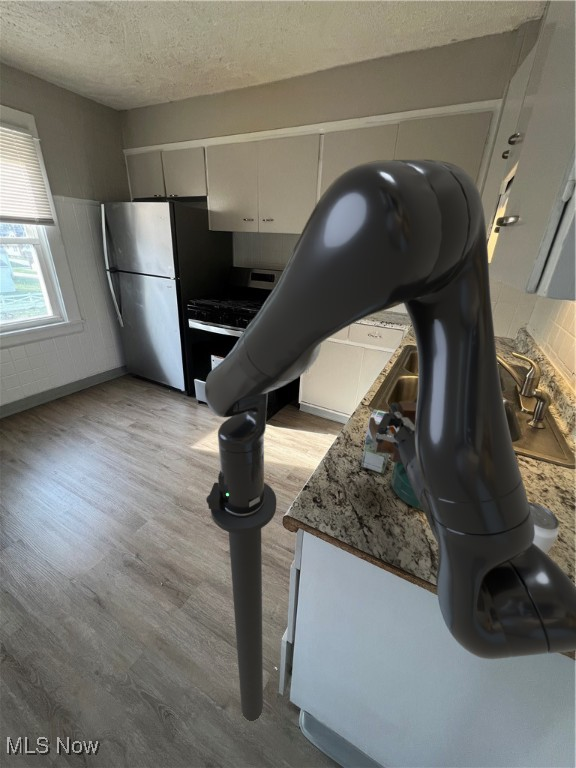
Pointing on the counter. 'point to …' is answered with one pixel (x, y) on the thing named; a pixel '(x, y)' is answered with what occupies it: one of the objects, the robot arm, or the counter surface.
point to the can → (544, 526)
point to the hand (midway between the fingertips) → (403, 407)
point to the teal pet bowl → (403, 486)
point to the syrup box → (370, 456)
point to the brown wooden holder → (388, 447)
